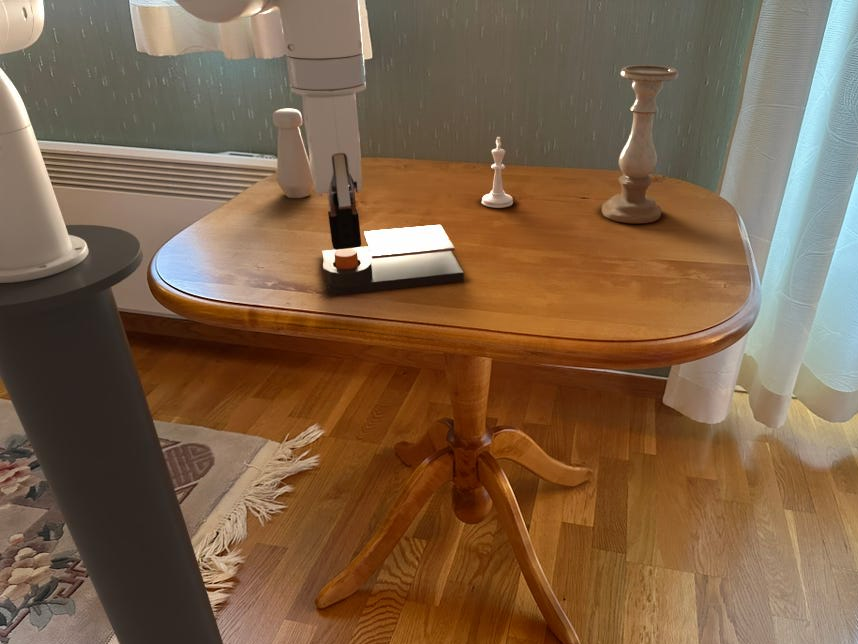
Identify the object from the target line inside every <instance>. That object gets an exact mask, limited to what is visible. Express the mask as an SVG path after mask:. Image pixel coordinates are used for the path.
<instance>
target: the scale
mask: <svg viewBox="0 0 858 644" xmlns="http://www.w3.org/2000/svg"><path fill="white" fill-rule="evenodd" d="M351 249H355V250H356V251H357V255H358V267H355V268H353V269H338V268H336V264H335V255H334V253H335V251H337V250H335V249H325V250H321V256H322V257H321V258H322V271H323V272H322V273H323V278H324V279H323V280H324V283H325V284H326V286H327V291H328V297H335V296H343V295H344V296H345V295H352V294H363V293H370V292H371V293H372V292H380V291H388V290H399V289H407V288H415V287H416V288H417V287H425V286H433V285H443V284H452V283H460V282H465V272H464V270H463V269H462V267H461V265H460V264H459V262H458V260H457V259H456V257H455V255H454V253H453V251H446V252H436V253H426V254H416V255H407V256H397V257H387V258H377V259H372V257H371V254H370V251H369V248H368V245H367V246H360V247H358V248H351Z"/></svg>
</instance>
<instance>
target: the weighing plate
mask: <svg viewBox="0 0 858 644" xmlns="http://www.w3.org/2000/svg"><path fill="white" fill-rule="evenodd" d="M363 235H364V239H365V242H366V244H367V246H368V248H369V251H370V254H371V257H372V259H377V258H387V257H397V256H407V255H416V254H426V253H436V252H446V251H451V252H454V251H456V248H455V246H454V244H453V243H452V241H451V239H450V238H449V236H448V235H447V233H446V230H444V228H443V226H442V225H441V224H435V225H424V226H412V227H402V228H390V229H379V230H370V231H363Z"/></svg>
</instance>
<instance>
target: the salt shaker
mask: <svg viewBox="0 0 858 644" xmlns="http://www.w3.org/2000/svg"><path fill="white" fill-rule="evenodd" d="M272 122H273V125H274V126H275V127H276V128H278V129H277V160H276V161H277V163H276V182H277V184H278V186H279V188H280V189H281V191H282V193H283V195H284V196H286V197H287V198H289V199H302V198H305V197H309V196H311V192H312V189H313V188H314V185H313V180H312V174H311V167H310V160H309V155H308V152H307V150H306V147H305V143H304V140H303V137H302V133H301V129H300V127H301V126H302V125H303V116H302V112H300V111H299V110H298V109H295V108H280V109H277V110H275V111H274V112H273V113H272Z"/></svg>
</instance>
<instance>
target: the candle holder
mask: <svg viewBox="0 0 858 644" xmlns="http://www.w3.org/2000/svg"><path fill="white" fill-rule="evenodd" d="M619 74H620V77H621V78H623V79H626V80H631V81H632V83H631V89H632V90H633V91H634V93H635V100H634V102H633V103H632V105H631V106H630V108H629V110H630V111H631V112H632V113H633V116H632V117H633V118H632V123H631V129H630V134H629V136H628V139H627V141H626V143H625V144H624V146H623V147H622V150H621V152H620V154H619V156H618V167H619V169H620V171H621V173H622V175H620V176H619V177H618V182H619V184H620V187H621V193H618V194H614V195H612V196H611V197H610V198H609V199H608V200H607V201H605V202H603V204H602V205H601V213H602V215H603V216H604V217H606V218H607V219H609V220H612V221H615V222H619V223H624V224H625V223H626V224H648V223H653V222H656V221H658V220H659V219H660V218H661V215H662V208H661V206H659V205H658V204H657V203H656V201H655V199H654V198H652V197H650V196H648V195H646V192H647V189H648V188H649V187H650V186H651V185H652V183H653V182H652V178H651V177H650V176H649V175H651V174H652V173H653V172H654V170H655V169H656V167H657V164H658V155H657V152H656V148H655V144H654V141H653V124H654V118H655V114H657V113H659V107H658V104H657V102H656V100H657V96H658V95H659V93H660V92H661V91H662V90H663V89H664V82H670V81H674V80H676V79H678V77H679V72H678V70H677V69H676V68H674V67H671V66H665V65H664V66H663V65H656V64H655V65H652V64H634V65H627V66H623V67H622V68H621V70H620V73H619Z"/></svg>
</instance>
